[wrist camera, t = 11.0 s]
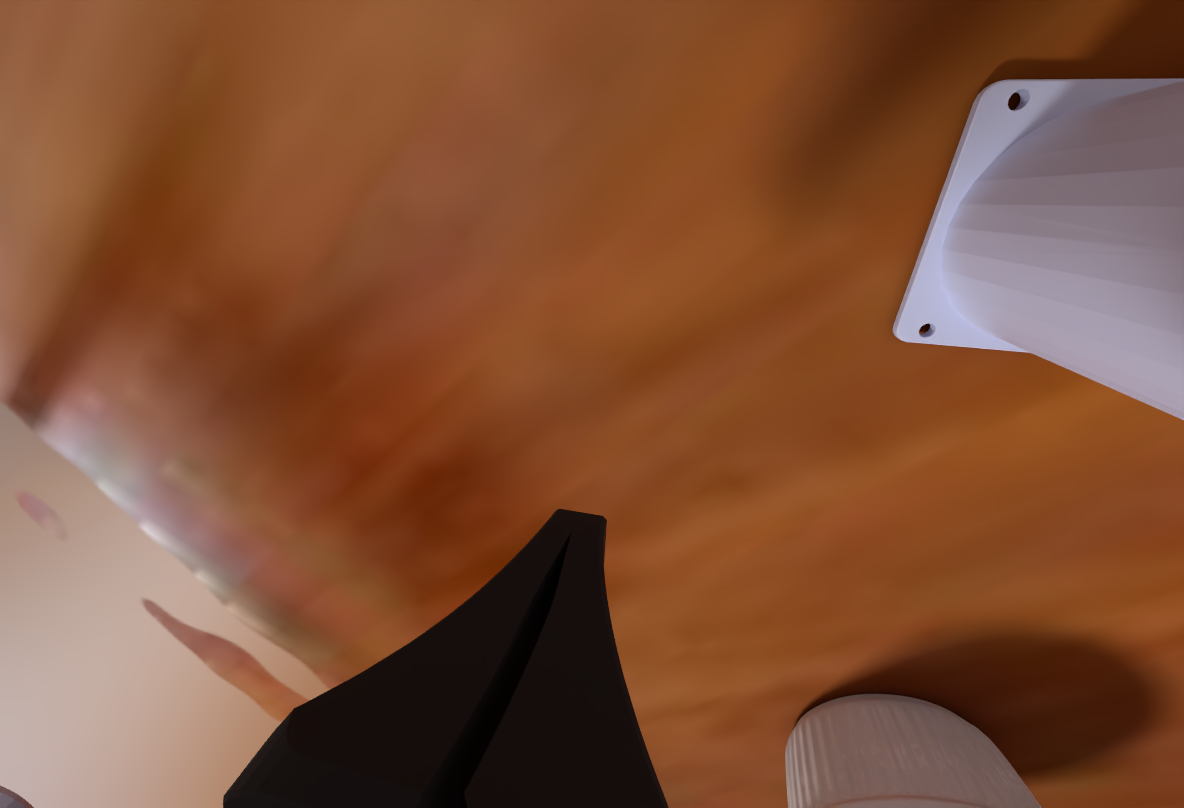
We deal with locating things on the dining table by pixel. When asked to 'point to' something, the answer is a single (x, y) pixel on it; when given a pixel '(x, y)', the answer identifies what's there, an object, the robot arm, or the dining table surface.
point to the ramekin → (896, 758)
